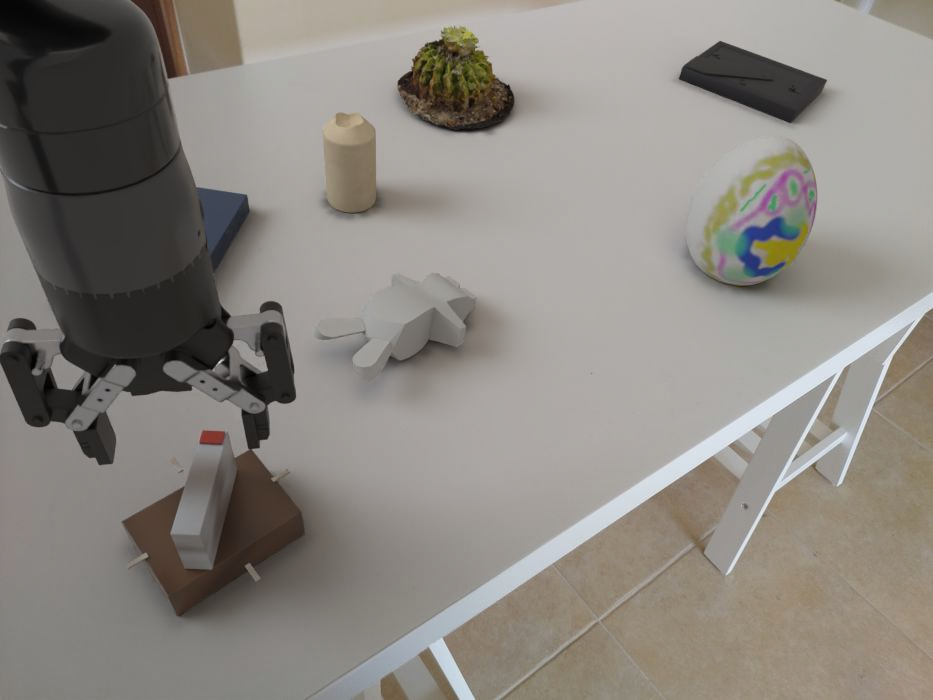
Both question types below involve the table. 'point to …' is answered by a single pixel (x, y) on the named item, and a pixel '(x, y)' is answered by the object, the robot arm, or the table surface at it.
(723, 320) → the table surface
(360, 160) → the candle
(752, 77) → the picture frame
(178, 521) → the light grey narrow block
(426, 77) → the cactus
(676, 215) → the table surface
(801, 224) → the decorative egg
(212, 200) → the button block
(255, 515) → the tap base
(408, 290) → the bunny figurine
